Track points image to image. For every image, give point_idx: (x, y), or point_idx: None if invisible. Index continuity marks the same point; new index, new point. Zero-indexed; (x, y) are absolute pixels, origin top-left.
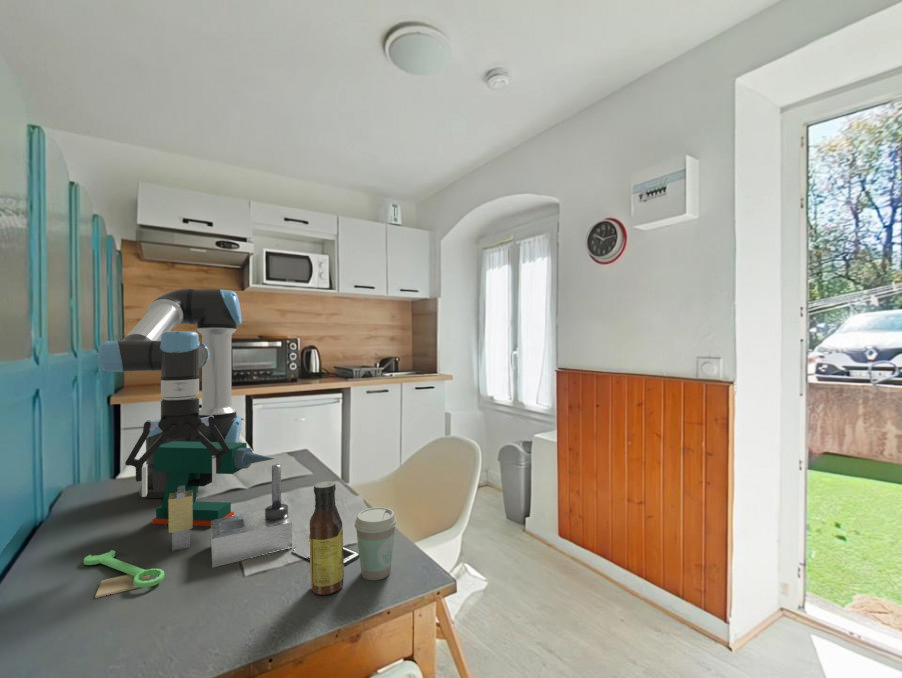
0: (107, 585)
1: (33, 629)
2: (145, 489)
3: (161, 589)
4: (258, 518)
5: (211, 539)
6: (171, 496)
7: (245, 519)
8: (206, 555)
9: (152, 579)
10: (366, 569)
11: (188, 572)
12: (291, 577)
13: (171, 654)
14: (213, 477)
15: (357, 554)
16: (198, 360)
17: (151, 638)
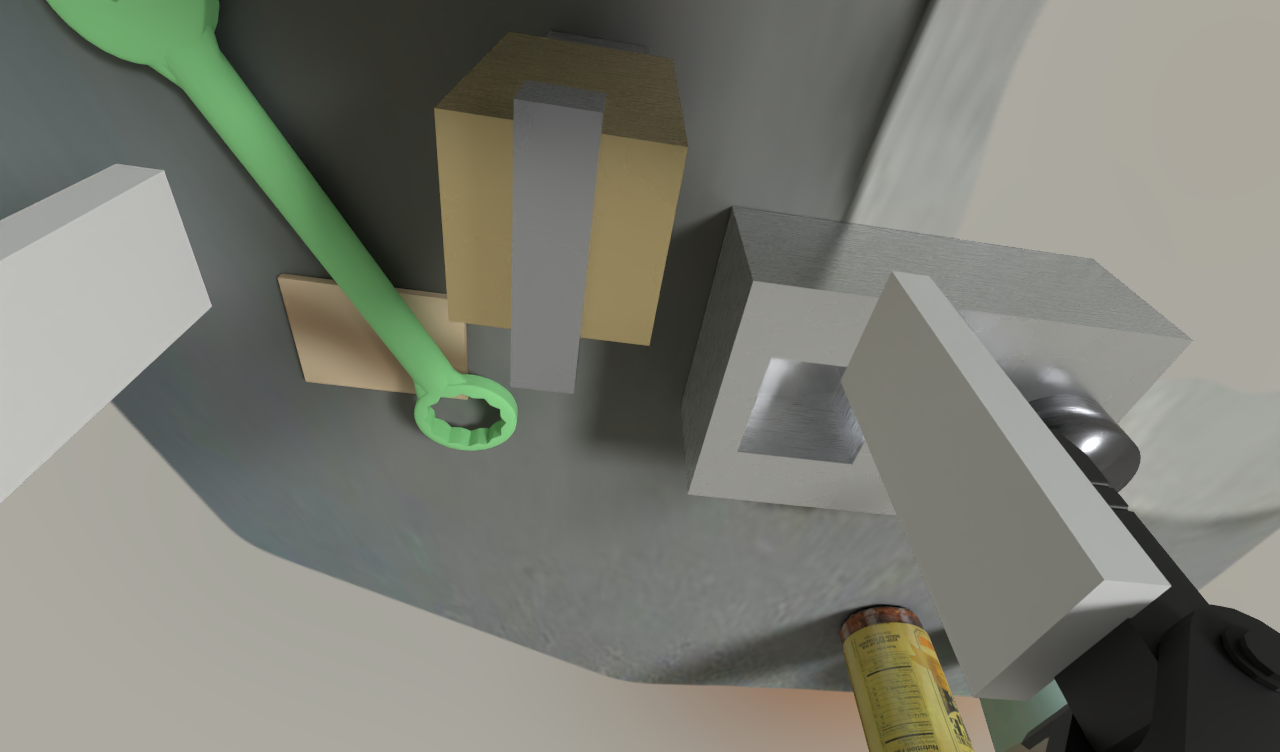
0: (320, 333)
1: (199, 439)
2: (155, 350)
3: (515, 437)
4: None
5: (713, 349)
6: (466, 240)
7: None
8: (687, 294)
9: (480, 443)
10: None
11: (601, 387)
12: (845, 561)
13: (546, 631)
14: (879, 451)
15: None
16: None
17: (508, 588)
